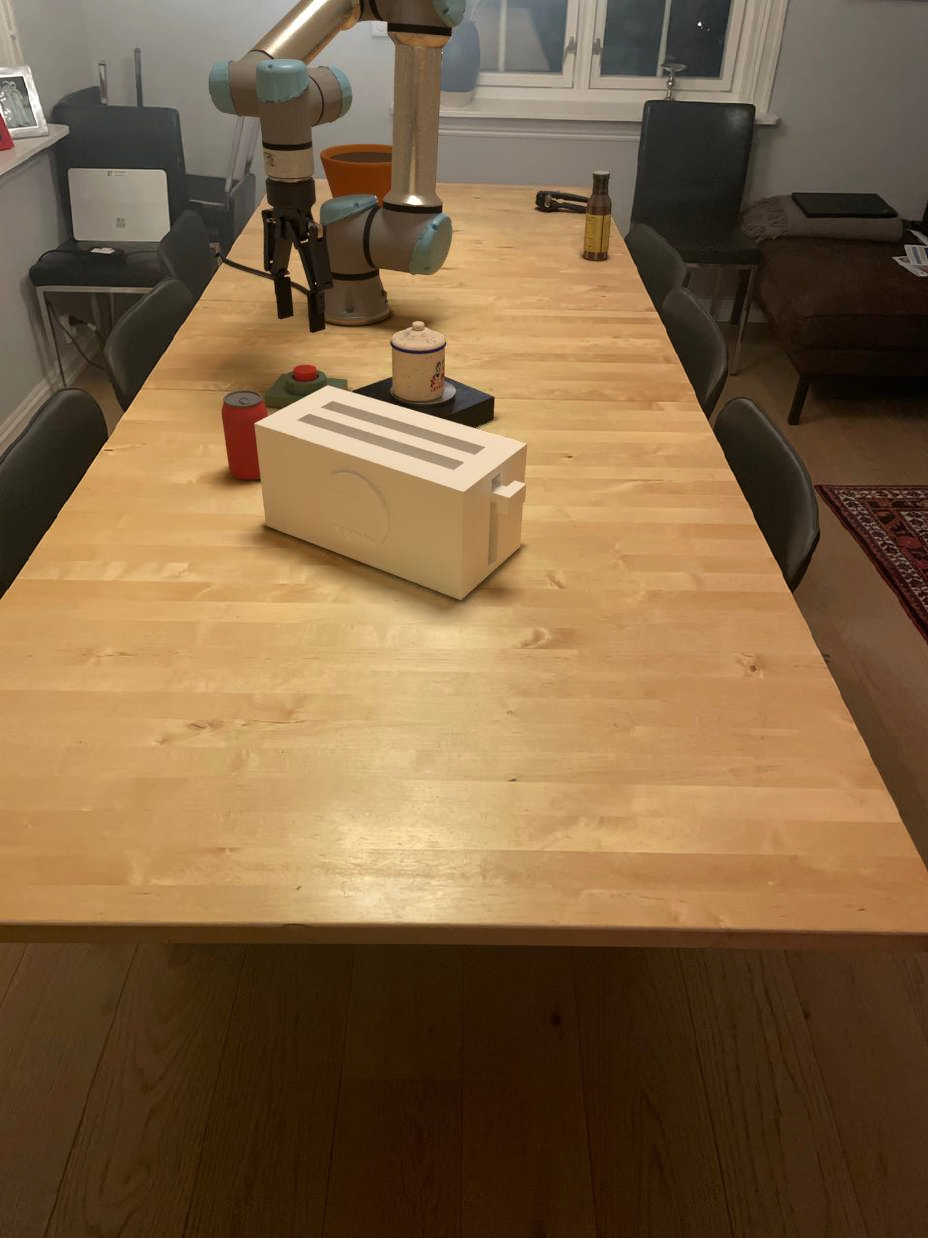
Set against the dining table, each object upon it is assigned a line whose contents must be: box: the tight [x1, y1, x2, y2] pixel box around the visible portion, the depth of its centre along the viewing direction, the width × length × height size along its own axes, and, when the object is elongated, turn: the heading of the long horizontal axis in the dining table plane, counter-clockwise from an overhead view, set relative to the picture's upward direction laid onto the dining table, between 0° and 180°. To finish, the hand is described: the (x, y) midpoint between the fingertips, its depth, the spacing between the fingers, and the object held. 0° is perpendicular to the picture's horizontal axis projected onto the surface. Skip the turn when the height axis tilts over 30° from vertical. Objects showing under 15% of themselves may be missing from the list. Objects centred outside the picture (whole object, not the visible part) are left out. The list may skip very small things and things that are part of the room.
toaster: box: [254, 385, 528, 601], centre depth 126 cm, size 35×16×15 cm, turn 58°
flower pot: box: [319, 143, 392, 206], centre depth 246 cm, size 24×24×20 cm
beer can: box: [220, 389, 269, 481], centre depth 142 cm, size 7×7×12 cm
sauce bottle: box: [583, 170, 613, 261], centre depth 235 cm, size 6×6×20 cm
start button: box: [292, 364, 318, 382], centre depth 165 cm, size 4×4×2 cm
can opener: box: [534, 189, 590, 214], centre depth 276 cm, size 18×7×6 cm, turn 80°
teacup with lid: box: [389, 320, 447, 401], centre depth 158 cm, size 12×9×12 cm
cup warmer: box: [351, 375, 496, 428], centre depth 162 cm, size 18×16×5 cm
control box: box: [263, 369, 349, 409], centre depth 167 cm, size 12×10×4 cm
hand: (301, 323), depth 160 cm, fingers open, 8 cm apart
